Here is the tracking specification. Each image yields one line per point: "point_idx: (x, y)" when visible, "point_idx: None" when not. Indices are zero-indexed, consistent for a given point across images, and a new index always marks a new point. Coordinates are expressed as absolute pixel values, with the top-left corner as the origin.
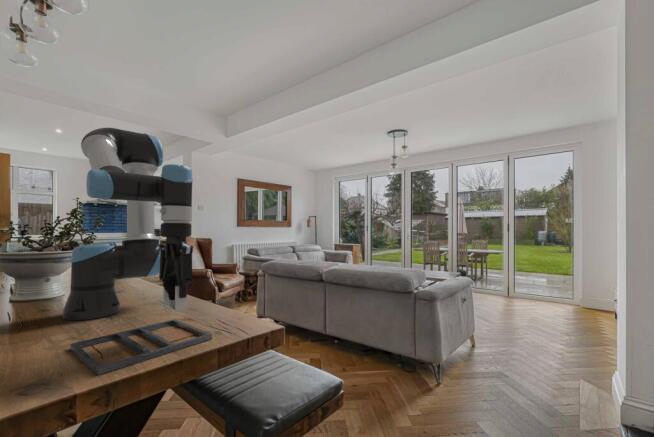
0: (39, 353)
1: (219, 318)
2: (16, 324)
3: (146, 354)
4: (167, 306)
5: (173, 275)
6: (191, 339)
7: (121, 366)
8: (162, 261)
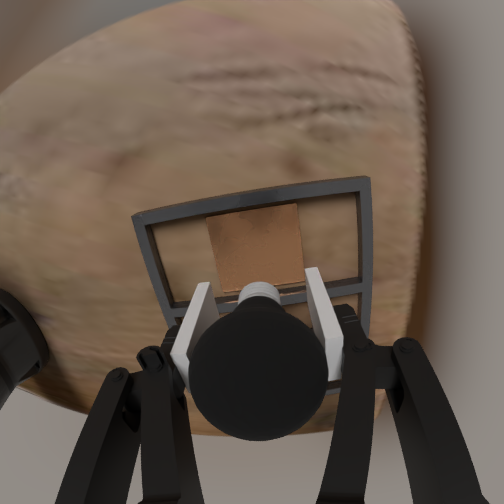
0: (200, 418)
1: (176, 71)
2: (53, 399)
3: (368, 335)
4: (216, 307)
5: (297, 428)
6: (366, 240)
7: None
8: (128, 485)
